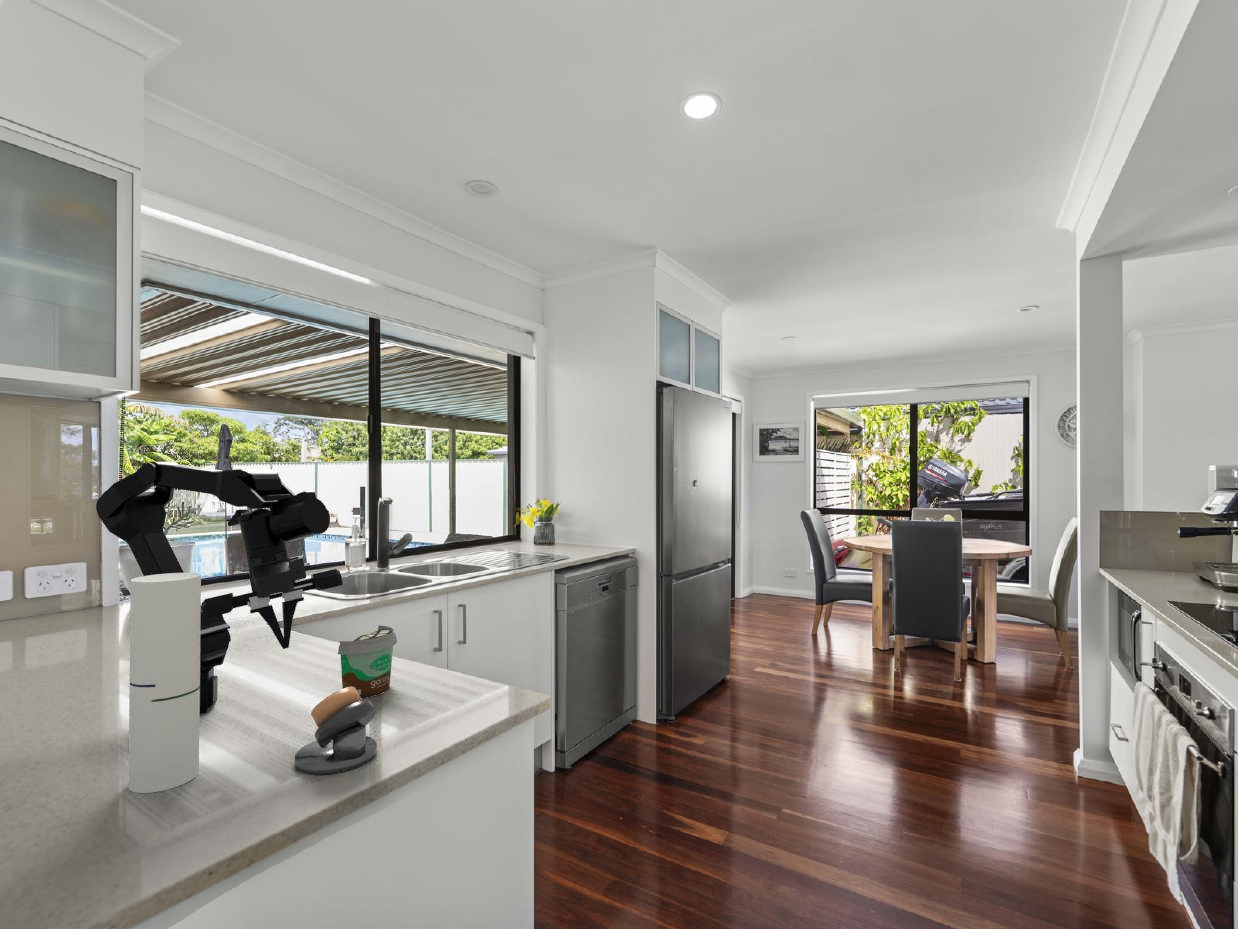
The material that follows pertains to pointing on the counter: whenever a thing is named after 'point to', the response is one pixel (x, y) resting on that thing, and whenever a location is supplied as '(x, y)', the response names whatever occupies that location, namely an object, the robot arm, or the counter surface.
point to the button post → (340, 742)
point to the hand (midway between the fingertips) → (285, 648)
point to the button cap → (334, 704)
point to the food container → (368, 662)
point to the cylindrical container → (164, 681)
